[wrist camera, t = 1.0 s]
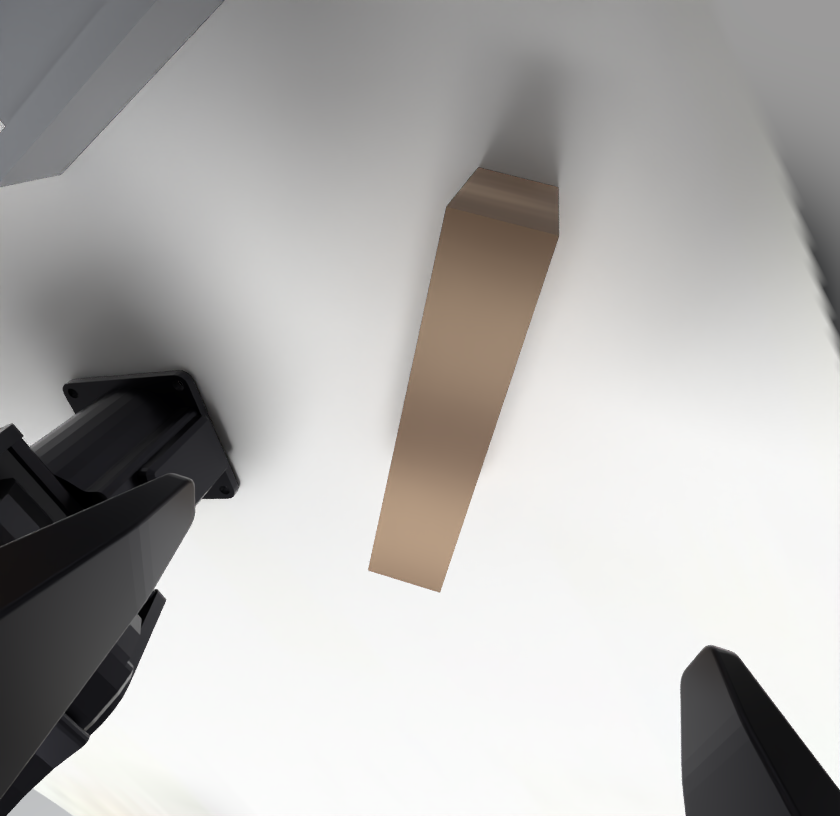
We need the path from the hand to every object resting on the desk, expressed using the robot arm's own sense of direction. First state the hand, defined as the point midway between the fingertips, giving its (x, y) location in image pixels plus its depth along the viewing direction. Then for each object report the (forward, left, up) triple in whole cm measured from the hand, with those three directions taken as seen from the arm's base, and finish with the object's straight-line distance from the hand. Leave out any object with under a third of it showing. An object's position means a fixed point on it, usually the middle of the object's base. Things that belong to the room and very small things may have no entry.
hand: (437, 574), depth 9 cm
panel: (-1, -1, -12) cm, 12 cm away
